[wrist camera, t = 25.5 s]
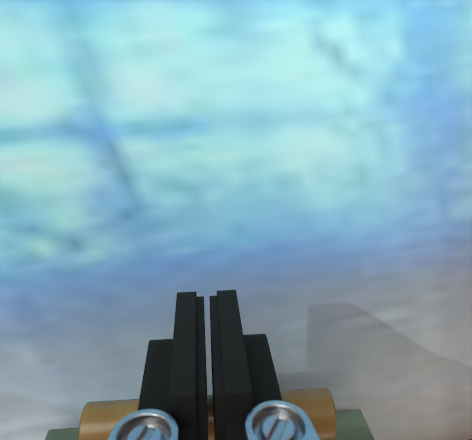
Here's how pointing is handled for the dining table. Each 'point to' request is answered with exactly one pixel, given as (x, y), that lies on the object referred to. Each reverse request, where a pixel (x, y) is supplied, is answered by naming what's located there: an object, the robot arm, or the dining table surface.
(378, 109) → the dining table surface
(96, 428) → the drawer
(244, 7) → the dining table surface
